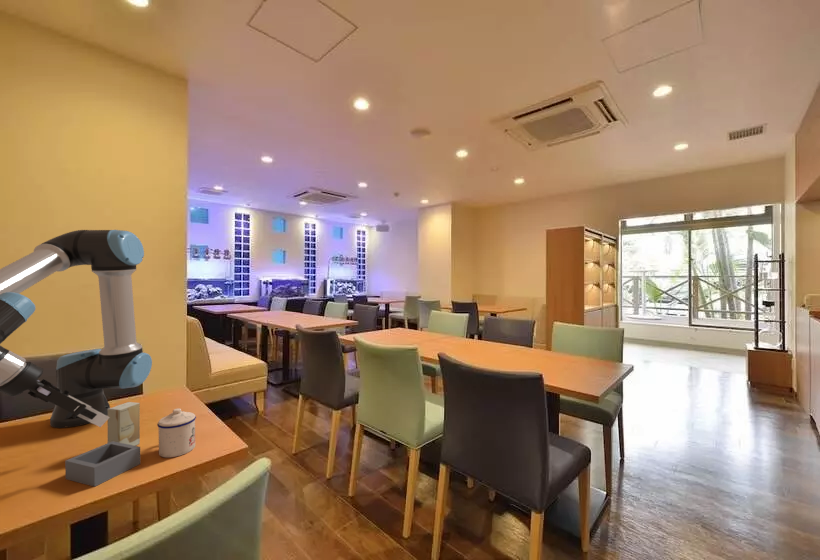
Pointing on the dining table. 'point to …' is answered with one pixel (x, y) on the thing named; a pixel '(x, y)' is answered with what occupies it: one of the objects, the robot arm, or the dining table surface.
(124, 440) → the skincare box
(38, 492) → the dining table surface
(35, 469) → the dining table surface
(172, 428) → the teacup with lid
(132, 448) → the tray
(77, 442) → the dining table surface
